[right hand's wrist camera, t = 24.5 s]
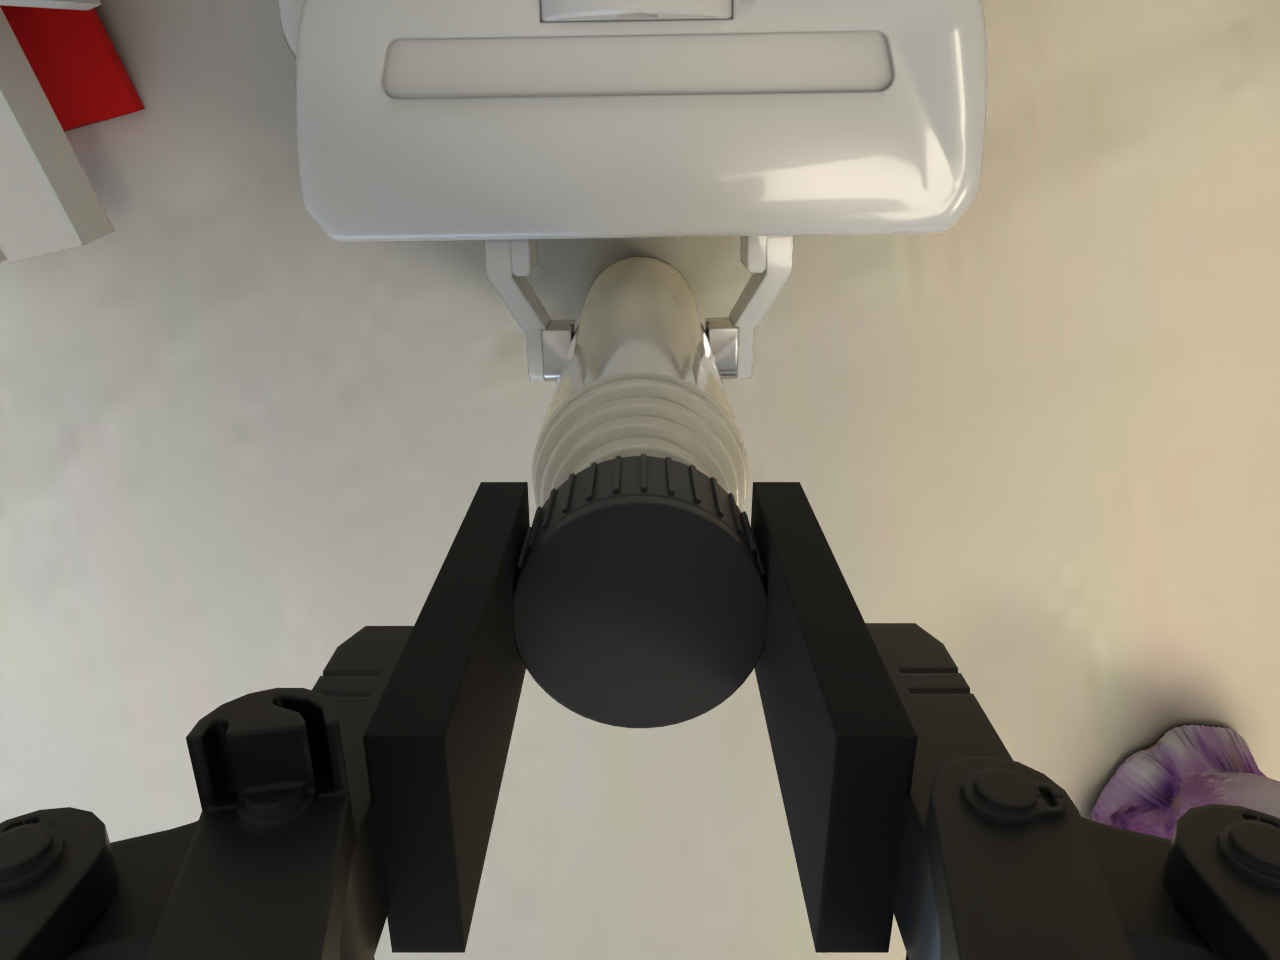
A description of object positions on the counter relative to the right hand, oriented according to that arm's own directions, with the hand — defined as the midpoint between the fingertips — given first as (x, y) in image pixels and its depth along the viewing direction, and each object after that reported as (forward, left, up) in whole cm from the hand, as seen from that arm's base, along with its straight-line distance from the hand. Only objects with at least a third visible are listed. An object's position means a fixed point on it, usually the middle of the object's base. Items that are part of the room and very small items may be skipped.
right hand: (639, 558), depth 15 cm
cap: (0, 0, +2) cm, 2 cm away
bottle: (0, 0, -22) cm, 22 cm away
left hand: (-1, +1, -16) cm, 16 cm away
